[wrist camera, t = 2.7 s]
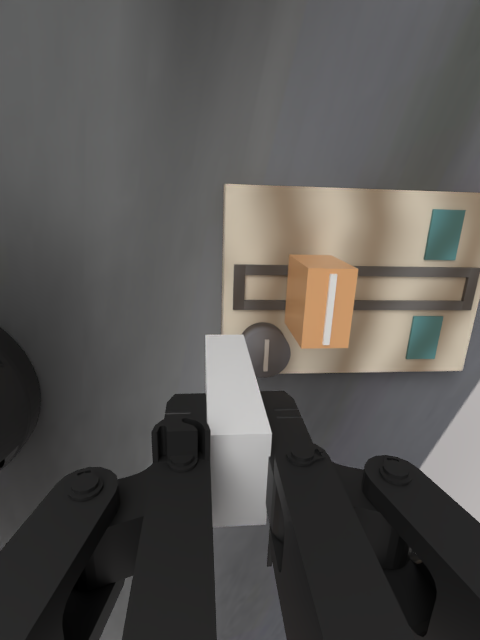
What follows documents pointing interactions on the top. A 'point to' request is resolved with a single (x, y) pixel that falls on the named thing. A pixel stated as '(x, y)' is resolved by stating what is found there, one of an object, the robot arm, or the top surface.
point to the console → (372, 281)
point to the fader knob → (320, 300)
